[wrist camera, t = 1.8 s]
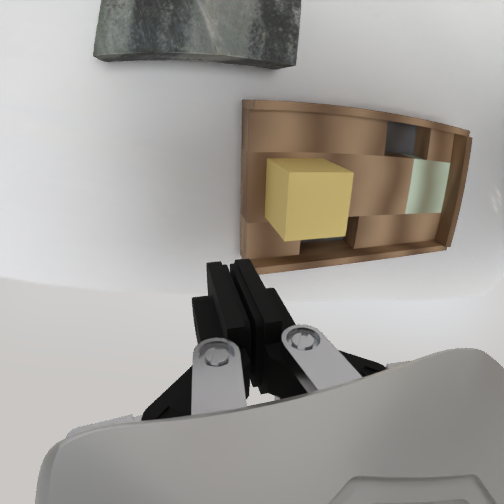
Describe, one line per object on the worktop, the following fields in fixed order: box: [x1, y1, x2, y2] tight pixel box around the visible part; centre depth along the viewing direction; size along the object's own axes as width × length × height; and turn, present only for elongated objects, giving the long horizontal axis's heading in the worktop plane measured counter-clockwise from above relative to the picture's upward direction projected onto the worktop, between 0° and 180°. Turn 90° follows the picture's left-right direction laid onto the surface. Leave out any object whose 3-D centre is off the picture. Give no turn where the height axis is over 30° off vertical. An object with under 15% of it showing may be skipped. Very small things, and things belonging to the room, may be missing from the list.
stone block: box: [93, 0, 301, 69], centre depth 18 cm, size 9×14×5 cm, turn 84°
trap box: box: [240, 100, 472, 275], centre depth 29 cm, size 24×14×4 cm, turn 89°
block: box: [265, 158, 354, 241], centre depth 24 cm, size 5×5×5 cm
